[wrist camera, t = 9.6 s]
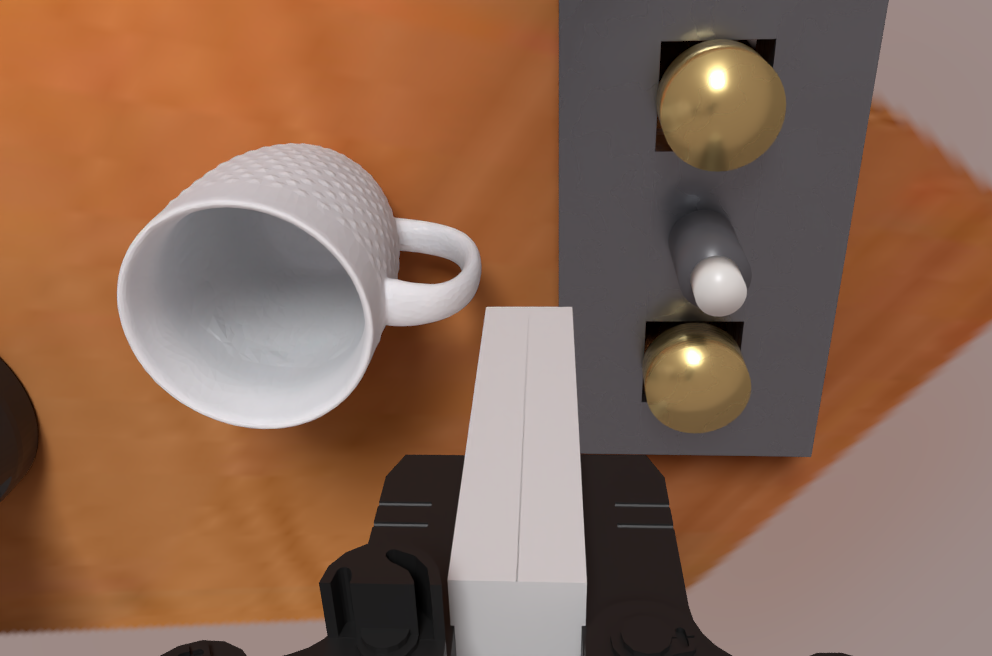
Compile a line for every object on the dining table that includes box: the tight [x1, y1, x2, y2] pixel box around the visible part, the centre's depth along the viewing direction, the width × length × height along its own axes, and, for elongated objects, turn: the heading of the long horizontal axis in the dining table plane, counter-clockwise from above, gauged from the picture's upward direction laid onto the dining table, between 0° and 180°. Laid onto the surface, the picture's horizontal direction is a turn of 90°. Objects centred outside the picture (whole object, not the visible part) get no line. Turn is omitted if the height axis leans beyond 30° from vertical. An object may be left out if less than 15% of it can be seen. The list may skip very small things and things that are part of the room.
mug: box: [117, 143, 481, 429], centre depth 42 cm, size 15×11×13 cm
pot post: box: [669, 210, 752, 317], centre depth 40 cm, size 3×3×6 cm
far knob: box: [642, 321, 751, 433], centre depth 46 cm, size 5×5×6 cm
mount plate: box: [559, 0, 889, 457], centre depth 44 cm, size 14×26×4 cm, turn 2°
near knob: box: [656, 39, 786, 172], centre depth 40 cm, size 5×5×6 cm
